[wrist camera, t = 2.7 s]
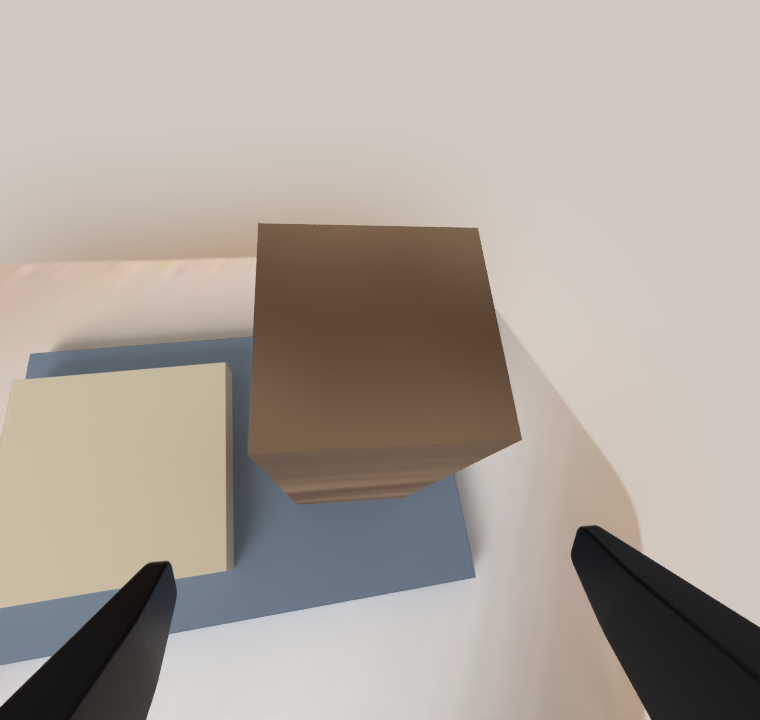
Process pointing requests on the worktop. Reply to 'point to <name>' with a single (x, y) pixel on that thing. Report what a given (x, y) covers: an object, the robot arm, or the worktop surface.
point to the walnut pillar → (374, 360)
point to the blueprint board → (266, 528)
